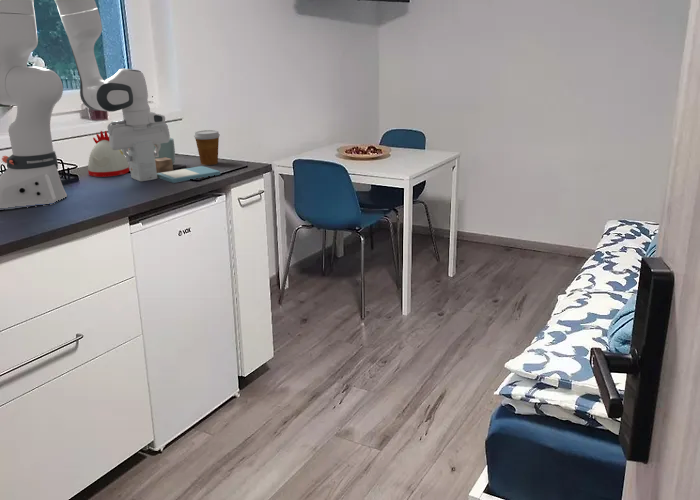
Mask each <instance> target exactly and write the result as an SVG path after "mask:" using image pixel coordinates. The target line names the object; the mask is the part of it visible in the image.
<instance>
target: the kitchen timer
mask: <svg viewBox="0 0 700 500" xmlns="http://www.w3.org/2000/svg"><path fill="white" fill-rule="evenodd" d="M99 133H100V135H99ZM99 133H97V134H95V135H96V137H97V139H96V138H95V137H92V139H93V141H94V143H95V145H94V146H93V147H92V149H91V152H90V154H89V157H88V162H87V163H88V164H87V172H88V173H87V174H88V175H89V176H91V177H97V178H98V177H99V178H100V177H102V178H103V177H105V178H106V177H113V176H114V177H115V176H121V175H125V174H128V173H129V172H130V164H129V162H127V161H126V156H125V155H124V154H123V153H122V150H114V149H112V148H111V147H110V143H109V135H108V131H107V130H105V131H104V132H103V130H100V131H99Z"/></svg>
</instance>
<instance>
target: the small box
mask: <svg viewBox="0 0 700 500" xmlns="http://www.w3.org/2000/svg"><path fill="white" fill-rule="evenodd" d="M127 153H128V155H129V156H132V160H133V161H131V162H128V164H129V172H130V175H131V176H130V177H131V179H134V180H137V181H138V182H146V181H151V180H152V181H153V180H157V179H158V177H157V170H156V162H155V154H154V146H153V141H141V142H135V143H133V148H128V152H127Z"/></svg>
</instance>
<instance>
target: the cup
mask: <svg viewBox="0 0 700 500" xmlns="http://www.w3.org/2000/svg"><path fill="white" fill-rule="evenodd" d="M153 146H154V145H153ZM155 148H156V147H155V146H154V151H155ZM158 154H159V157H155V159H158V158H165V157H166V158H169V159H172V164H173V165H174V164H175V161H176V148H175V140H174V138H173V137H170V140H169V142H167V143H161V147H160V150H159V152H158Z"/></svg>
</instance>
